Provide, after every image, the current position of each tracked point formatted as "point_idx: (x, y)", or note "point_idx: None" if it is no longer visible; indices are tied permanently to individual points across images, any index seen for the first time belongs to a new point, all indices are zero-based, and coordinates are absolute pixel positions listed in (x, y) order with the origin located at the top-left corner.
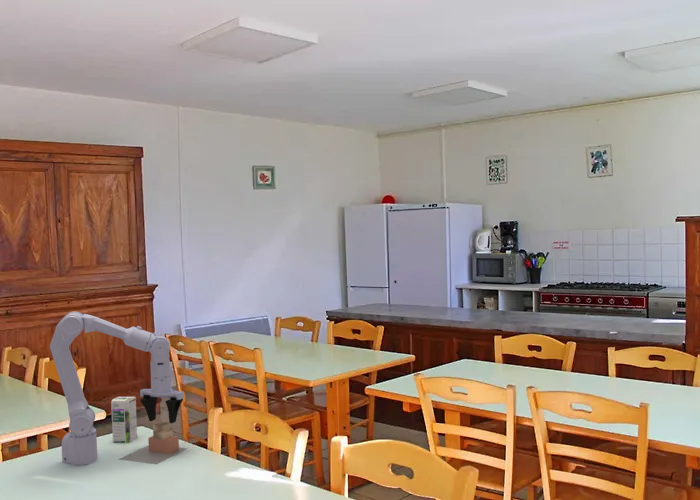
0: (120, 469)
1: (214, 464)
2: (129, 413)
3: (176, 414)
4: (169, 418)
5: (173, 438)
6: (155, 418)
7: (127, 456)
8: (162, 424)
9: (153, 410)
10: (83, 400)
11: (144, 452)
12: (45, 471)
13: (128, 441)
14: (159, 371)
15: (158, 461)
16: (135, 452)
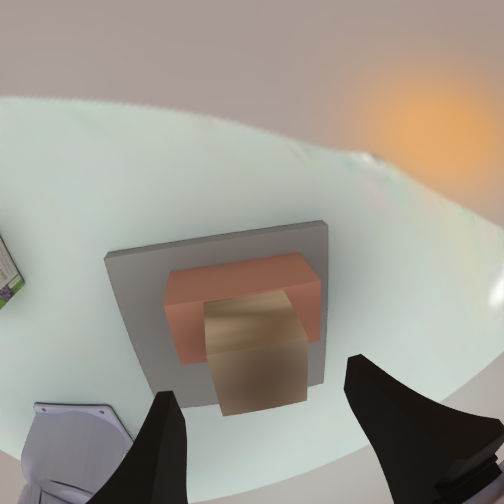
0: (222, 423)
1: (458, 272)
2: None
3: (391, 384)
4: (361, 417)
5: (317, 315)
6: (172, 395)
7: (163, 388)
8: (268, 385)
9: (171, 458)
10: None
11: None
12: None
13: (15, 292)
14: None
15: (313, 370)
16: (147, 355)
